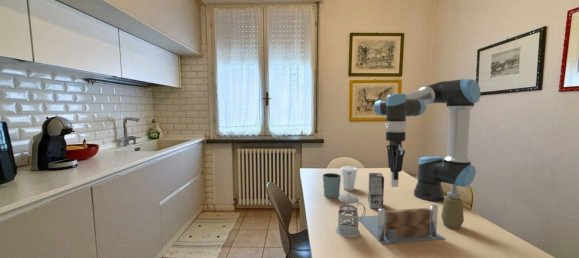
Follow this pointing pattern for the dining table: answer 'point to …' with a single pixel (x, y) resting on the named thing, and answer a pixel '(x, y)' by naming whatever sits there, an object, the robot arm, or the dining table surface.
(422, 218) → the wooden plank
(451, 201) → the squeeze bottle
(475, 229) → the dining table surface
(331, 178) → the grey-green cup
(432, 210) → the posts
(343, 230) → the french press
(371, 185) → the coffee box
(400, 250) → the dining table surface
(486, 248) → the dining table surface
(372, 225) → the mat
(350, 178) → the foam cup
